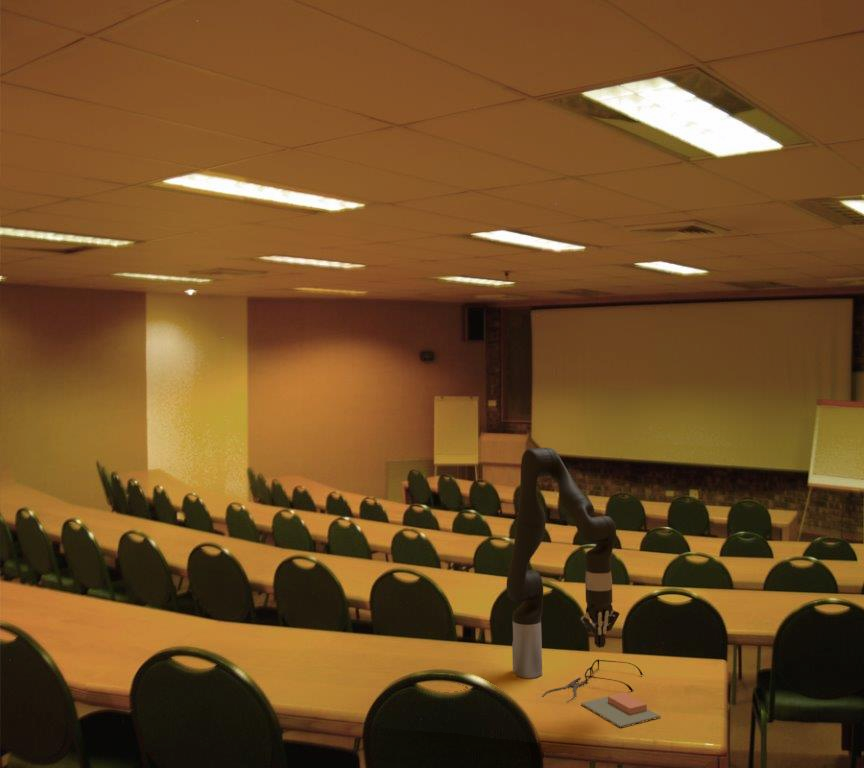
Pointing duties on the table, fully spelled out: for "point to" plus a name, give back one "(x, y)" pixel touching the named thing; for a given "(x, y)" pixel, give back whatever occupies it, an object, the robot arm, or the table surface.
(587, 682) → the eyeglasses
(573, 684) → the pliers
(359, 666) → the table surface
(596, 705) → the mat
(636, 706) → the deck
